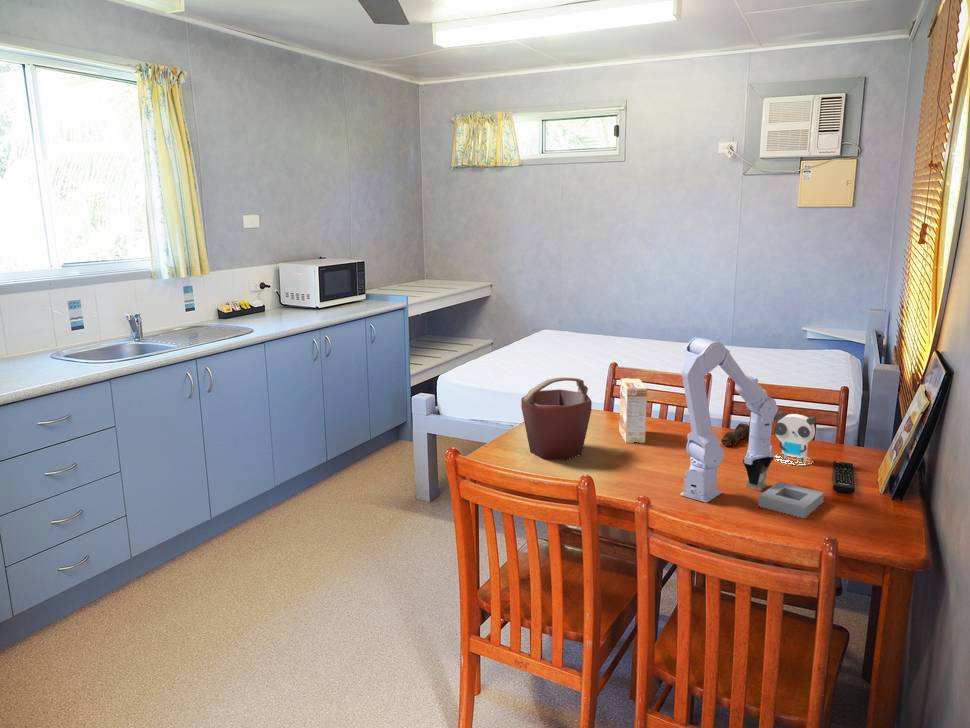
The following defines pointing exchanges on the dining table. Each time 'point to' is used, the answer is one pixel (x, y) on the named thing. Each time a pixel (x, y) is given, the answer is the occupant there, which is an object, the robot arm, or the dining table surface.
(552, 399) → the bucket
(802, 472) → the dining table surface
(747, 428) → the dark brown cylinder
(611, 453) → the dining table surface
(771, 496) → the socket board
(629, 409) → the coffeecake box
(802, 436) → the panda figurine
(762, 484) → the peg
